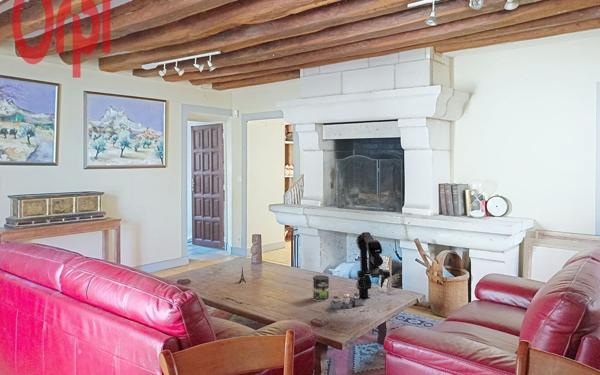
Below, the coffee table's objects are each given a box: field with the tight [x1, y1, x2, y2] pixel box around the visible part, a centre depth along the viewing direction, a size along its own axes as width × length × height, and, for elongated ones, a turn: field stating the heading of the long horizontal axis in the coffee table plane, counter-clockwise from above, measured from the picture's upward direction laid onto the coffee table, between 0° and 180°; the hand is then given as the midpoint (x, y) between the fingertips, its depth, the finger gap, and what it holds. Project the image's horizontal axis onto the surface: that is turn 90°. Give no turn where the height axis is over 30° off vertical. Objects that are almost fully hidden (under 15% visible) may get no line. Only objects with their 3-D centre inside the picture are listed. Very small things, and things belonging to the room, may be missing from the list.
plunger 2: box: [353, 292, 359, 300], centre depth 280 cm, size 3×3×4 cm
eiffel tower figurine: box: [238, 266, 247, 285], centre depth 333 cm, size 15×10×13 cm
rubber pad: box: [325, 309, 339, 315], centre depth 268 cm, size 6×6×1 cm
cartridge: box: [342, 293, 351, 305], centre depth 278 cm, size 4×4×7 cm
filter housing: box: [328, 297, 365, 311], centre depth 278 cm, size 8×21×4 cm, turn 112°
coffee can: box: [312, 274, 330, 302], centre depth 293 cm, size 10×10×14 cm
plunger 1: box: [333, 295, 340, 303], centre depth 275 cm, size 3×3×4 cm
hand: (373, 288), depth 270 cm, fingers open, 9 cm apart
